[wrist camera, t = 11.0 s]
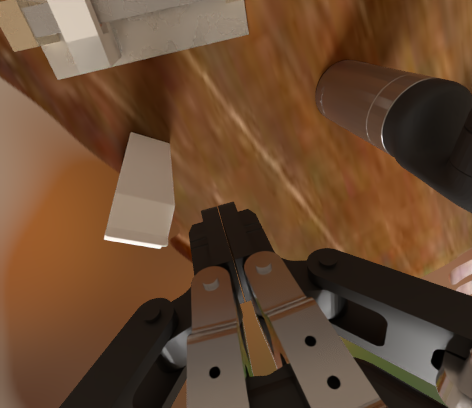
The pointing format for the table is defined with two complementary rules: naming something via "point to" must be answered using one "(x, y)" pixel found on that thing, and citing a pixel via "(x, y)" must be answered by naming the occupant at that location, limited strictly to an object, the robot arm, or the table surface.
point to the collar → (85, 35)
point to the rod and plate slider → (126, 27)
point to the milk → (143, 195)
